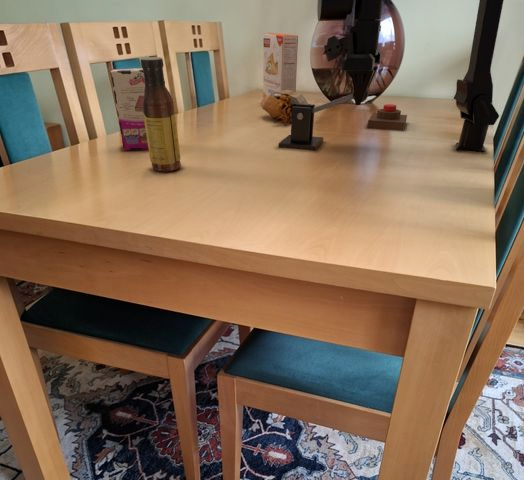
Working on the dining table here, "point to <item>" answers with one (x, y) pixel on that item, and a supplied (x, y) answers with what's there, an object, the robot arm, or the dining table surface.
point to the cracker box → (279, 62)
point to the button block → (387, 120)
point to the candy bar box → (130, 107)
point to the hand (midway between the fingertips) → (358, 103)
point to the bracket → (302, 130)
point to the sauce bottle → (159, 118)
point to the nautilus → (282, 104)
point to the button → (389, 108)
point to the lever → (337, 102)
